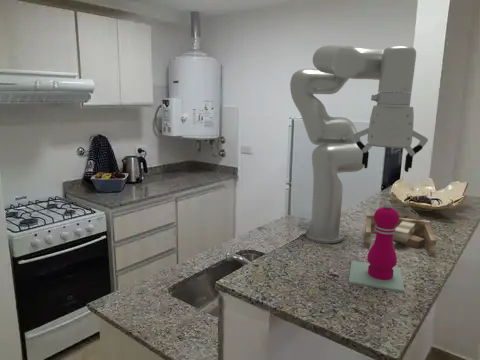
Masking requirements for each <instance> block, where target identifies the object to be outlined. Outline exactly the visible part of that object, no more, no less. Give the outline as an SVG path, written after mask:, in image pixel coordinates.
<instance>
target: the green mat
mask: <svg viewBox="0 0 480 360" xmlns="http://www.w3.org/2000/svg"><path fill="white" fill-rule="evenodd" d="M350 261H351V262H350V269H349V270H350V271H349V275H348V276H349V278H348V284H352V285H358V286H364V287H365V286H366V287H370V288H375V289H376V288H377V289H382V290H389V291H394V292H399V293H400V292H401V293H405V287H404V282H403V276H402V275H403V274H402V271H401V267H397V266H394V267H393V268H392V269H393V270H394V272H393V277H392V278H391V279H389V280H381V279H376V278H374V277H372V276H370V275H369V274H368V266H369V265H370V263H369V262H362V261H357V260H356V261H355V260H350Z"/></svg>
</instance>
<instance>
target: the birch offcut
mask: <svg viewBox="0 0 480 360" xmlns="http://www.w3.org/2000/svg"><path fill="white" fill-rule="evenodd" d="M415 224H416V223H411V222H406V221H402V222H401V223H400V224H399V225H398V226H397V227H396V229H395V233H394V234H393V240H398V241H402V242H407V241H408V239H409V238H410V237H411V236H412V234H413V233H414V232H415Z"/></svg>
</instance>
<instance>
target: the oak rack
mask: <svg viewBox="0 0 480 360" xmlns="http://www.w3.org/2000/svg"><path fill="white" fill-rule="evenodd" d="M402 221H406V222H411V223H416V224H415V232H414V233H413V234H412V235H414V236H417V237H421V238H424V239H425V244H424V247H425V249H426V251H427V255H428V256H432V257H435V255H436V254H435V253H436V248H437V238H436V236H435V233H434V231H433V230H432V227H431V225H430V224H431V223H430V222H431V221H430V220H425V219H420V220H416V219H407V218H399V222H398V223H397V224H396V225H395V227H397V226H398V225H399V224H400V223H401V222H402ZM375 225H376V222H375V220H374V214H369V213H367V214H366V219H365V229H364V247H365V248H371V237H372V236H371V235H372V233H375V234H376V231H375Z"/></svg>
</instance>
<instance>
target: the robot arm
mask: <svg viewBox="0 0 480 360" xmlns="http://www.w3.org/2000/svg"><path fill="white" fill-rule="evenodd" d="M416 59H417V50H416V49H415V48H414V47H413V46H409V45H404V46H403V45H398V46H397V45H396V46H390V47H389V46H388V47H387V48H384V49H383V48H373V47H372V48H369V47H354V46H351V45H335V44H334V45H333V44H331V45H322V46H320V47H319V48H317V49H316V50H315V52H314V54H313V56H312V64H313V66H314V68H304V69H299V70H297V71H295V72H293V74H292V76H291V77H290V81H289V83H290V85H289V88H290V89H289V90H290V95H291V99H292V101H293V103H294V105H295V107H296V108H297V110H298V112H299V114H300V116H301V119H302V122H303V124H304V128H305V130H306V131H305V132H306V135H307V136H308V139H309V141H310V142H311V144H313V145H316V147H315V148H314V149H313V150H312V153H311V164H312V165H311V166H312V176H313V182H312V183H313V184H312V185H313V186H312V201H311V202H312V203H311V220H310V221H307V222H304V221H298V223H297V227H298V228H300V230H306V231H305V236H306V238H307V239H309V240H310V241H313V242H317V243H323V244H336V243H340V242H342V241H344V238H345V234H344V233H343V232H341V231H340V230H341V229H340V228H341V218H342V217H341V216H342V205H343V204H342V203H343V190H344V189H343V184H342V181H341V179H340V177H339V175H338V174H340V173H341V174H343V173H354V172H355V173H356V172H360V171H361V170H362V169H367V168H368V165H369V156H370V151H369V150H371V148H372V147H376V148H377V147H378V148H379V147H380V148H388V149H389V148H392V149H405V151H406V153H407V154H406V155H405V160H404V172H406V173H408V172H409V169H412V168H413V167H412V165H413V158H414V156H415V155H416V154H417V153H419V152H420V151H422V149H423V147H425V145H426V144H427V142H429V141H428V140H429V139H428V138H427V137H426V136H424V135H422V134H421V133H418V132H417V131H415V130H414V124H415V123H414V119H415V117H414V116H415V115H414V114H415V113H414V106H411V105H410V104H411V99H412V92H413V84H414V83H413V82H414V76H415V75H414V74H415V69H416V68H415V67H416ZM349 79H352V80H374V81H377V80H378V81H379V82H378V90H377V91H378V92H377V93H376V94H371V100H370V101H374V102H375V103H376V105H373V107H372V109H371V114H370V118H369V125H368V127H367V128H365V129H362V130H360V131H358V130H357V128H356V126H355V124H354V123H353V122H352V121H351V119H349V118H347V117H342V116H330V115H329V113H328V112H327V110H326V107H325V105H324V103H323V102H322V101H321V100H320V99H319V98H317V97H316V96H315V95H334V94H337V93H338V92H339V91H340V90H341V89H342V88H343V87H344V85H345V84H346V83H347V82H348V81H349ZM366 135H367V142H366V144H365V145H364V143H363V142H362V140H361V137H363V136H366ZM413 138H415V139H416V140H419V142H418V144H417V145H415V146H414V147H412V146H411V145H412V141H413Z"/></svg>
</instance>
